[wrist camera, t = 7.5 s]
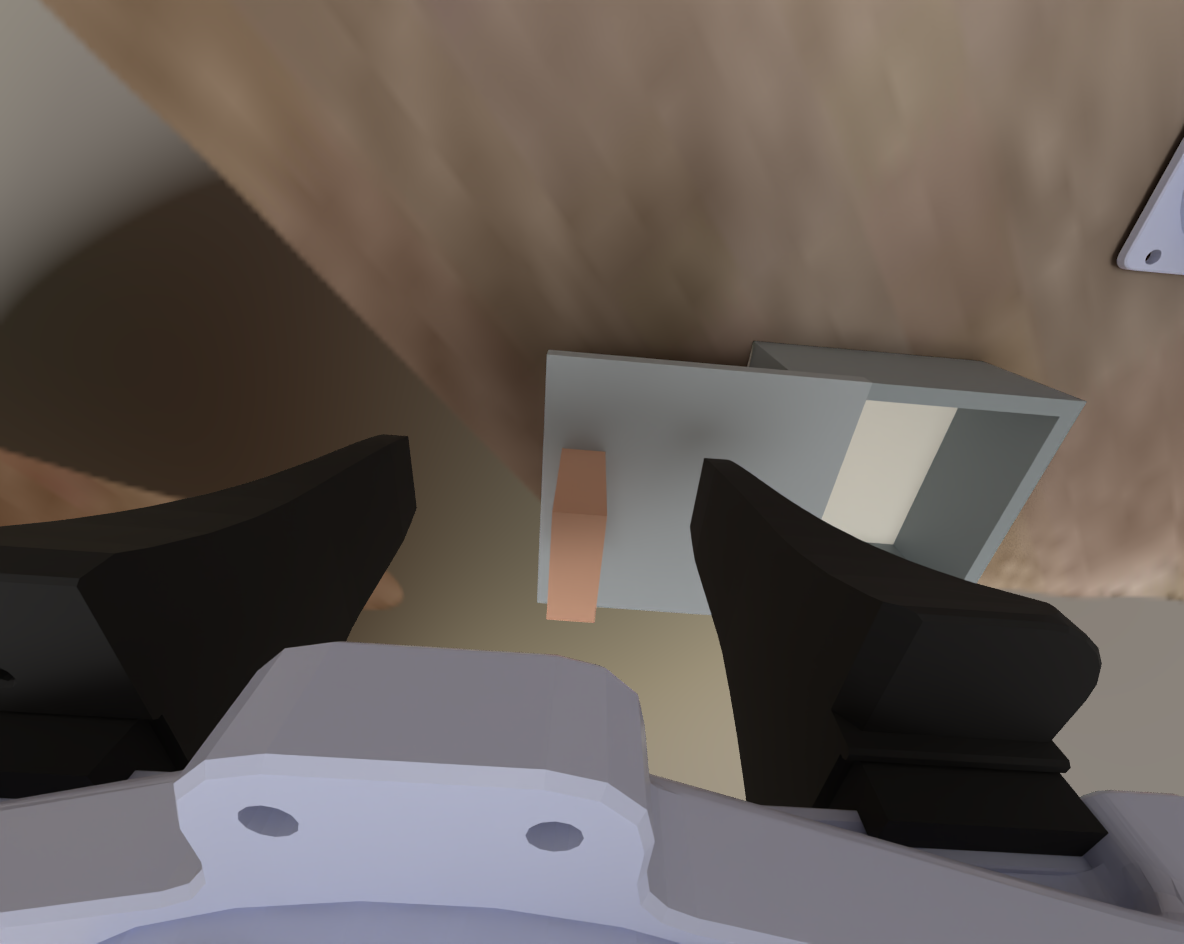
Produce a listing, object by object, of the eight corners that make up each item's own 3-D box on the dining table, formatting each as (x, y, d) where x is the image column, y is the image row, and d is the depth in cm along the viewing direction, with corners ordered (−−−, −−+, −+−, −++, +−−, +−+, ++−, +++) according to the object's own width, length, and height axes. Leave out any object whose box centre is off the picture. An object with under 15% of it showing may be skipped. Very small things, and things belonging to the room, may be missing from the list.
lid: (863, 377, 16) (954, 433, 12) (778, 609, 21) (822, 706, 17) (548, 349, 16) (530, 398, 11) (538, 592, 20) (523, 686, 16)
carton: (982, 361, 21) (1086, 401, 16) (893, 547, 25) (955, 617, 21) (753, 340, 20) (796, 376, 16) (706, 533, 25) (729, 601, 21)
